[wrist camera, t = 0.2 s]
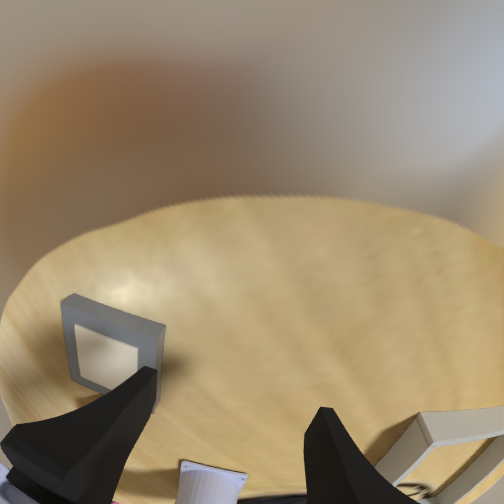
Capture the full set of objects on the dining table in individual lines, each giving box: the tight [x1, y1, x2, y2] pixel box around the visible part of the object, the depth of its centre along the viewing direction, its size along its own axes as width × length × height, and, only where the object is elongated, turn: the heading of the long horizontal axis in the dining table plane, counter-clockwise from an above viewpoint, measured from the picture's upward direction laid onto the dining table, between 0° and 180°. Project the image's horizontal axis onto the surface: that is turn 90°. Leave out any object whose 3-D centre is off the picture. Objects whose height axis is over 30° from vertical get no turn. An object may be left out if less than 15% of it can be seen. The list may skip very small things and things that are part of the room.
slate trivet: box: [61, 293, 166, 414], centre depth 22 cm, size 9×9×2 cm
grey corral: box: [374, 406, 504, 504], centre depth 25 cm, size 26×24×4 cm
